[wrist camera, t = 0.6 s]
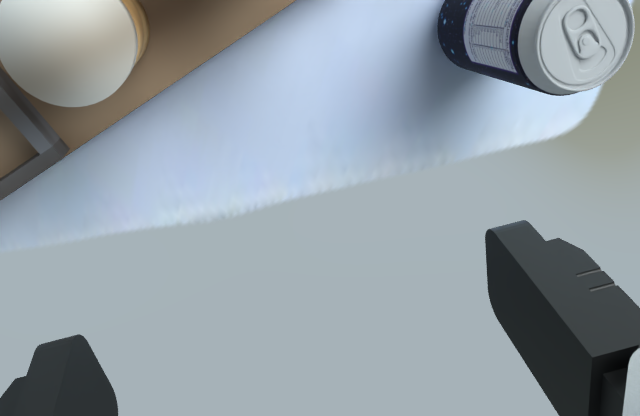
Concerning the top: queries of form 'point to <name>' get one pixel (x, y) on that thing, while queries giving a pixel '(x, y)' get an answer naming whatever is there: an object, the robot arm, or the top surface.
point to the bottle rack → (98, 66)
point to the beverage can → (539, 40)
